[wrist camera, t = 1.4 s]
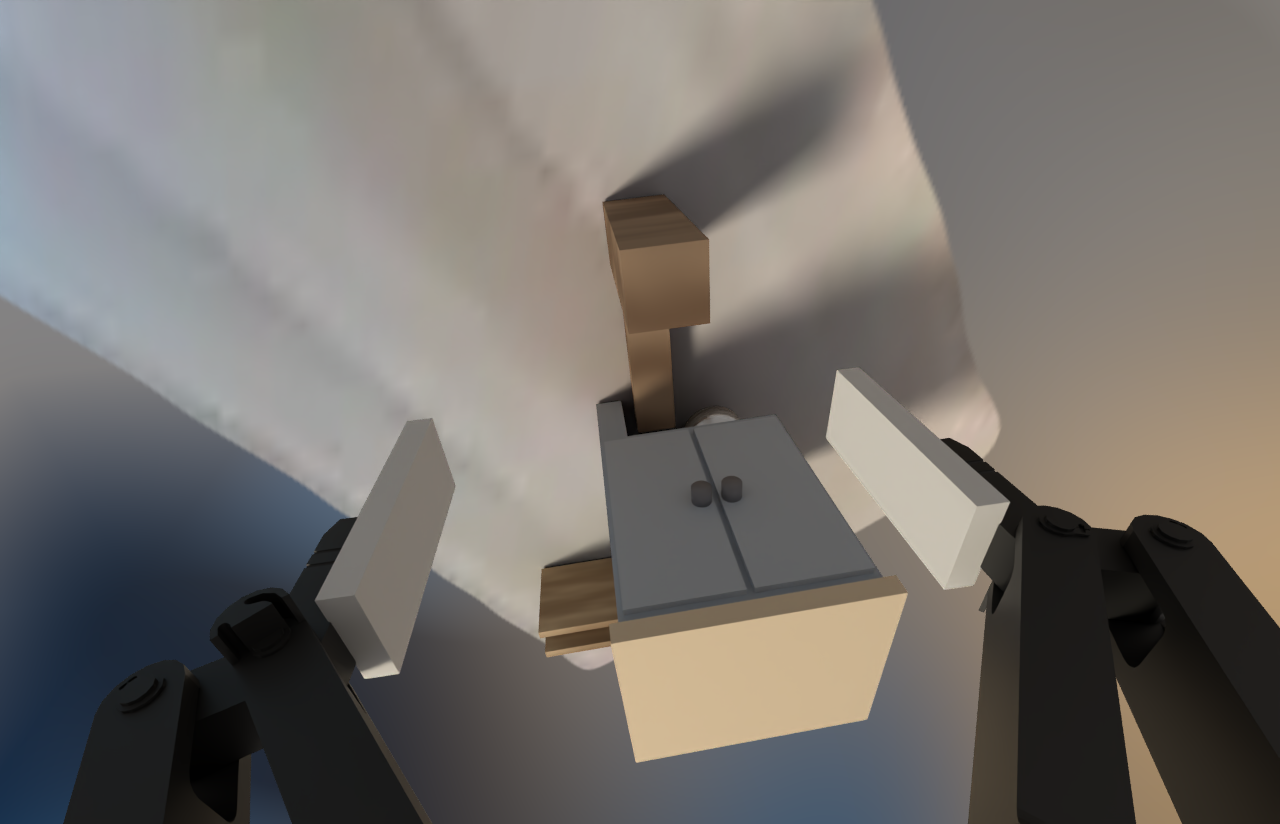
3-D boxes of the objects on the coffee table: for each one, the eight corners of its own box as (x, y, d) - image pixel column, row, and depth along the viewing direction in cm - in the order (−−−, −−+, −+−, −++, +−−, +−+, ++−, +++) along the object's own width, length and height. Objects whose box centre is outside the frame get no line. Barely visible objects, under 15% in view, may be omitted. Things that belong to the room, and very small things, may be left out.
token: (682, 410, 42) (686, 422, 40) (740, 402, 42) (746, 413, 40) (684, 457, 44) (688, 470, 43) (739, 449, 44) (745, 461, 43)
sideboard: (588, 390, 39) (607, 630, 21) (759, 365, 40) (912, 578, 22) (609, 508, 46) (635, 762, 28) (753, 485, 47) (866, 719, 29)
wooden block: (602, 201, 32) (619, 250, 22) (663, 194, 32) (708, 239, 22) (629, 420, 41) (650, 524, 31) (677, 413, 41) (712, 514, 31)
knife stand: (541, 568, 49) (538, 632, 43) (738, 537, 50) (760, 595, 44) (549, 593, 51) (546, 657, 45) (737, 561, 52) (759, 620, 47)
